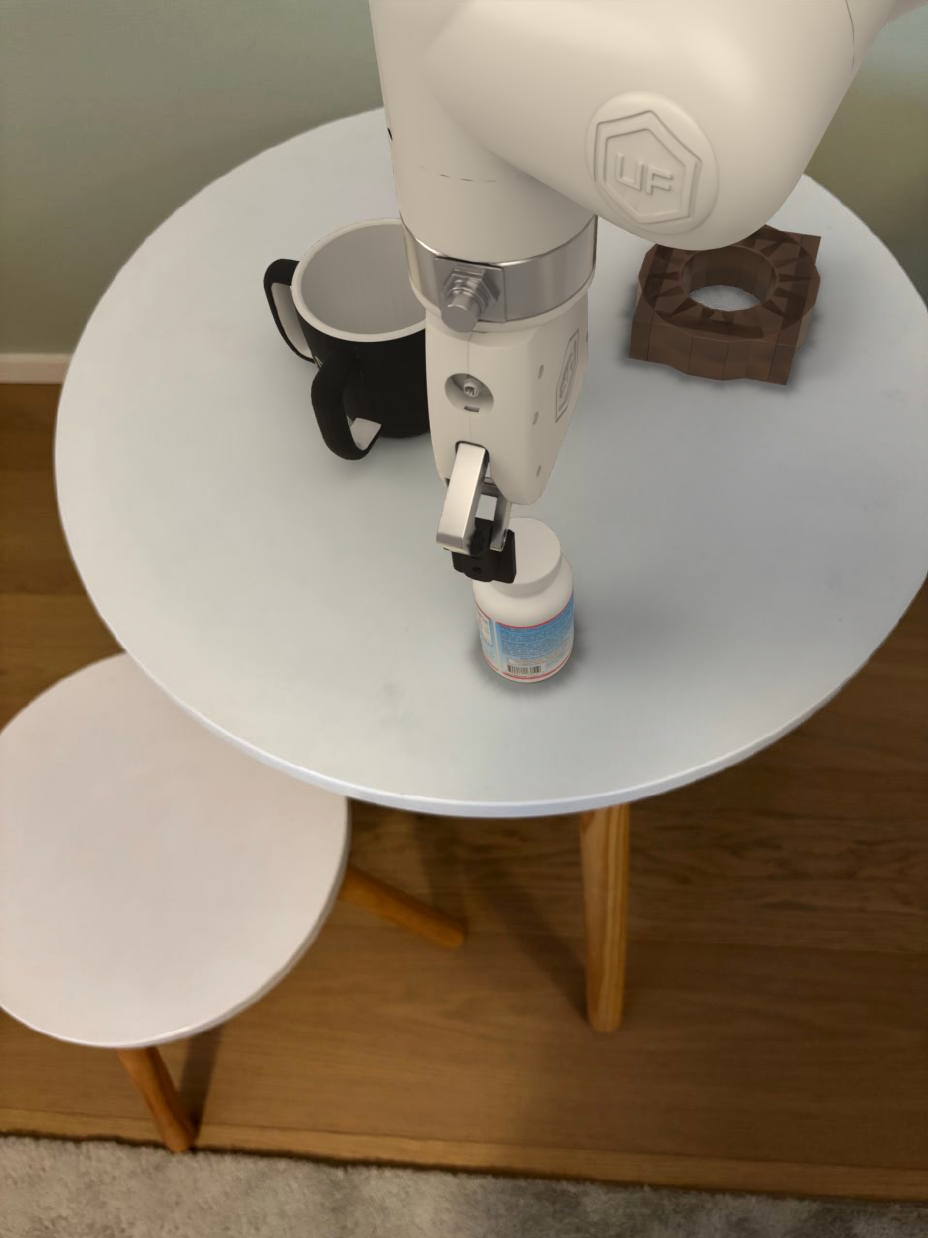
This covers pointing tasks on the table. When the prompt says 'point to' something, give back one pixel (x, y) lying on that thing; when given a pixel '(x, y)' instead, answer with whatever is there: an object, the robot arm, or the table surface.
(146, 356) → the table surface
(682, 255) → the hole plate
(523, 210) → the robot arm
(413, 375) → the mug
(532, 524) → the pill bottle
